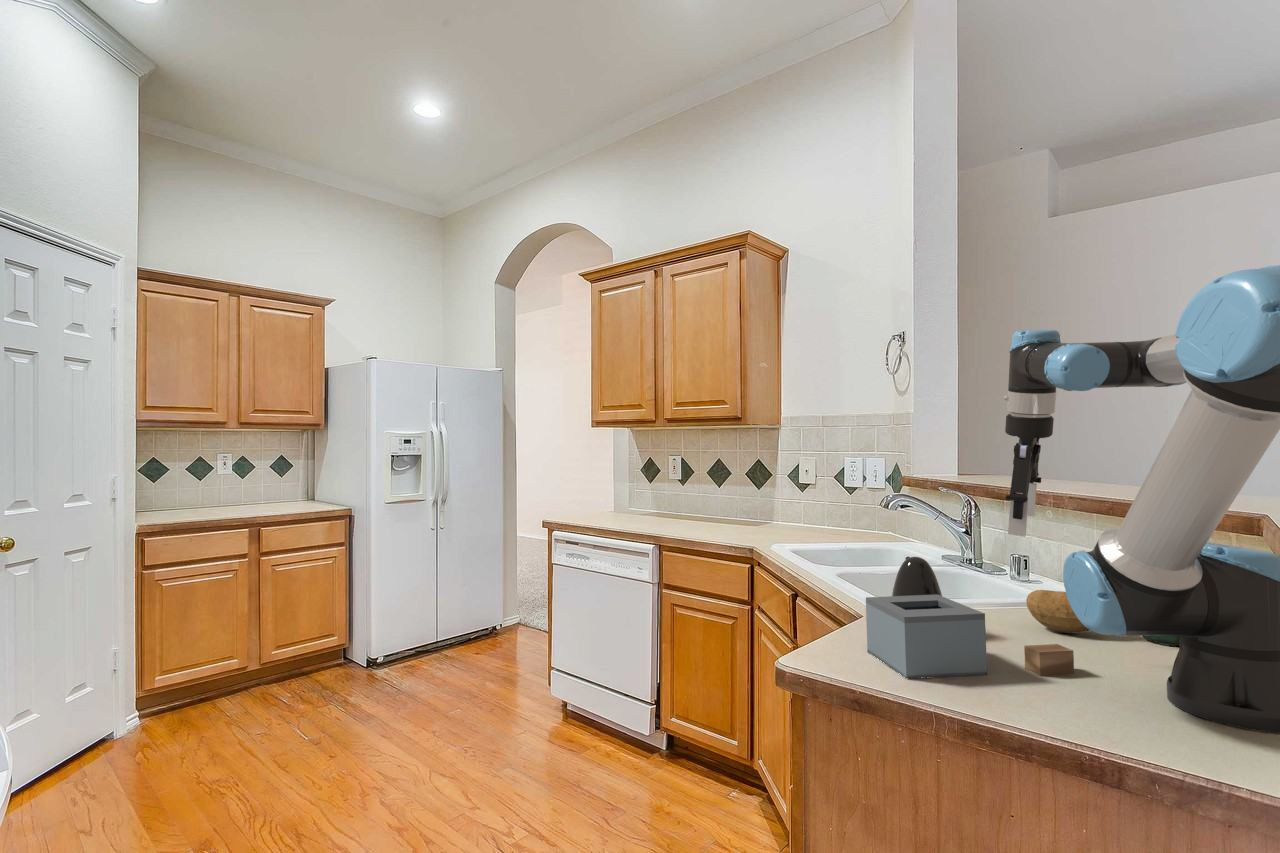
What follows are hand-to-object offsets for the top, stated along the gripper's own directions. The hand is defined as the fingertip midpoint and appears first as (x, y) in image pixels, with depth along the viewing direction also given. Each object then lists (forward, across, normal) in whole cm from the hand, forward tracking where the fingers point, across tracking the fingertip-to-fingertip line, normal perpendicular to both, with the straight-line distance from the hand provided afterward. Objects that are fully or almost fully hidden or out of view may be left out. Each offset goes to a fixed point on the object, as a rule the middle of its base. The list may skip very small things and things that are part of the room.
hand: (1021, 524), depth 120 cm
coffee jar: (+23, -14, +24) cm, 36 cm away
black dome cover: (+24, +6, -16) cm, 30 cm away
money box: (+20, +25, -11) cm, 34 cm away
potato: (+24, -10, +8) cm, 28 cm away
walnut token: (+19, +18, +7) cm, 27 cm away
